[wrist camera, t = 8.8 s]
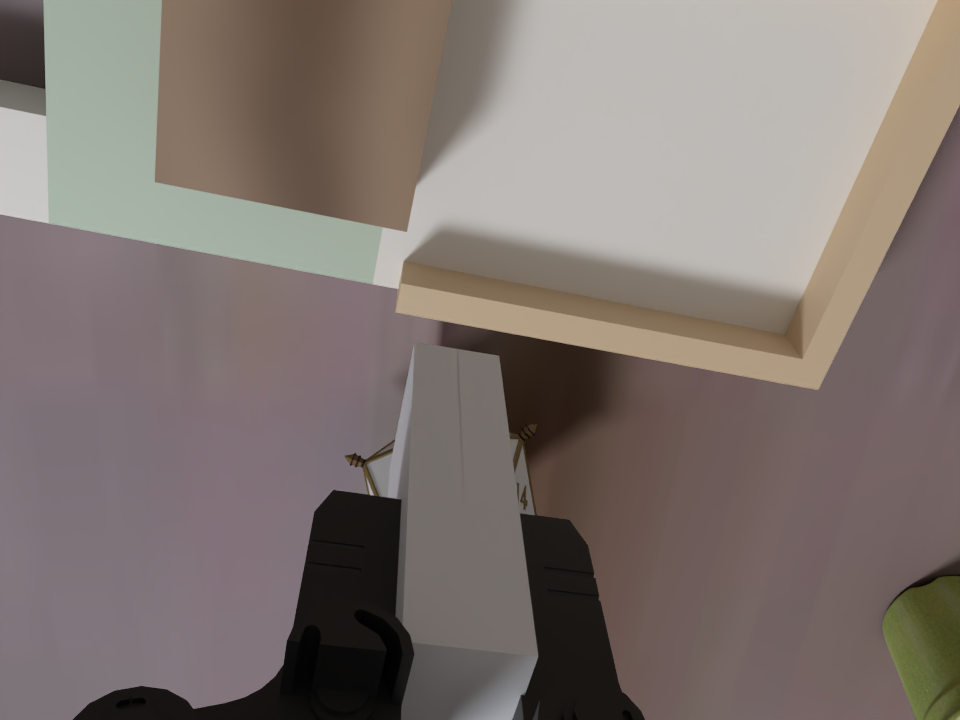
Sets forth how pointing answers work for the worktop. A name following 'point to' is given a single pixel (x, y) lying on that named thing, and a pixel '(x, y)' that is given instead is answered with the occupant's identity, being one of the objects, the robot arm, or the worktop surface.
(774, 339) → the deck
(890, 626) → the plant pot
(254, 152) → the walnut block
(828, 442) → the worktop surface
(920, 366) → the worktop surface
